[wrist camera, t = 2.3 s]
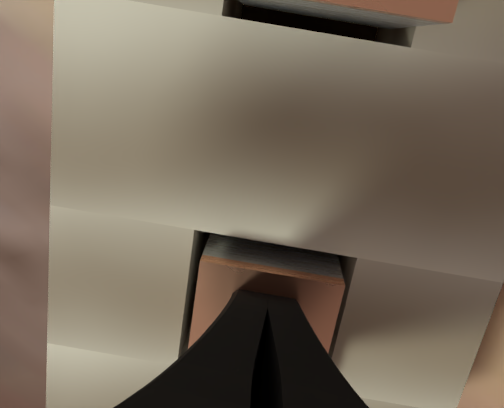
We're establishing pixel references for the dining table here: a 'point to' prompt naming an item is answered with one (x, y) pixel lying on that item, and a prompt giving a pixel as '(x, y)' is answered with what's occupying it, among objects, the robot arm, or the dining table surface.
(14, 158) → the dining table surface
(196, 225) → the socket board
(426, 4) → the near peg
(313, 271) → the far peg
